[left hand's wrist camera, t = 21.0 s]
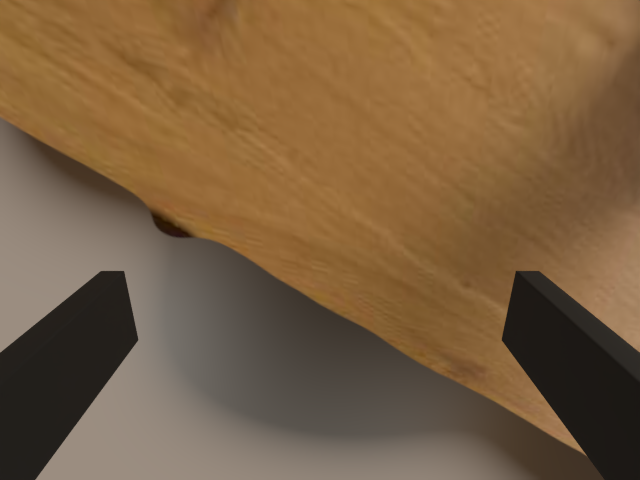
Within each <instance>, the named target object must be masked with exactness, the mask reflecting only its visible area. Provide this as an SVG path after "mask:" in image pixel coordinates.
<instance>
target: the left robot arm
mask: <svg viewBox="0 0 640 480" xmlns="http://www.w3.org/2000/svg"><path fill="white" fill-rule="evenodd" d="M137 341H138V336H137V331H136V326H135V322H134V317H133V312H132V307H131V302H130V298H129V293H128V288H127V283H126V278H125V274H124V271H101V272H99V273H98V274H97V275H96V276H94V277H93V278H92V279H91V280H90V281H88V282H87V283H86V284H85V285H83V286H82V287H81V288H80V289H78V290H77V291H76V292H75V293H73V294H72V295H71V296H70V297H69V298H67V299H66V300H65V301H64V302H62V303H61V304H60V305H59V306H57V307H56V308H55V309H54V310H52V311H51V312H50V313H49V314H48V315H46V316H45V317H44V318H43V319H41V320H40V321H39V322H38V323H36V324H35V325H34V326H33V327H31V328H30V329H29V330H28V331H27V332H25V333H24V334H23V335H22V336H20V337H19V338H18V339H17V340H15V341H14V342H13V343H12V344H10V345H9V346H8V347H7V348H6V349H4V350H3V351H2V352H1V353H0V480H35V479H36V478H37V477H38V475H39V474H40V472H41V471H42V470H43V468H44V467H45V466H46V464H47V463H48V462H49V460H50V459H51V458H52V456H53V455H54V454H55V452H56V451H57V449H58V448H59V447H60V445H61V444H62V443H63V441H64V440H65V439H66V437H67V436H68V435H69V433H70V432H71V430H72V429H73V428H74V426H75V425H76V424H77V422H78V421H79V420H80V418H81V417H82V415H83V414H84V413H85V412H86V410H87V409H88V407H89V406H90V405H91V403H92V402H93V401H94V399H95V398H96V397H97V395H98V394H99V392H100V391H101V390H102V389H103V387H104V386H105V384H106V383H107V382H108V380H109V379H110V378H111V376H112V375H113V374H114V372H115V371H116V370H117V368H118V367H119V365H120V364H121V363H122V361H123V360H124V359H125V357H126V356H127V355H128V353H129V352H130V351H131V349H132V348H133V347H134V345H135V344H136V342H137ZM502 341H503V342H504V344H505V345H506V347H507V348H508V349H509V351H510V352H511V353H512V355H513V356H514V357H515V359H516V360H517V361H518V363H519V364H520V365H521V367H522V368H523V370H524V371H525V372H526V374H527V375H528V376H529V378H530V379H531V380H532V382H533V383H534V384H535V386H536V387H537V389H538V390H539V391H540V393H541V394H542V395H543V397H544V398H545V399H546V401H547V402H548V403H549V405H550V406H551V407H552V409H553V410H554V412H555V413H556V414H557V416H558V417H559V418H560V420H561V421H562V422H563V424H564V425H565V426H566V428H567V429H568V431H569V432H570V433H571V435H572V436H573V437H574V439H575V440H576V441H577V443H578V444H579V445H580V447H581V448H582V449H583V451H584V452H585V454H586V455H587V456H588V458H589V459H590V460H591V462H592V463H593V464H594V466H595V467H596V468H597V470H598V471H599V473H600V474H601V475H602V477H603V478H604V479H605V480H640V353H639V352H638V351H637V350H636V349H634V348H633V347H632V346H631V345H630V344H628V343H627V342H626V341H625V340H623V339H622V338H621V337H620V336H618V335H617V334H616V333H615V332H613V331H612V330H611V329H610V328H609V327H607V326H606V325H605V324H604V323H602V322H601V321H600V320H599V319H597V318H596V317H595V316H594V315H592V314H591V313H590V312H589V311H588V310H586V309H585V308H584V307H583V306H581V305H580V304H579V303H578V302H576V301H575V300H574V299H573V298H571V297H570V296H569V295H568V294H567V293H565V292H564V291H563V290H562V289H560V288H559V287H558V286H557V285H555V284H554V283H553V282H552V281H551V280H549V279H548V278H547V277H546V276H544V275H543V274H542V273H541V272H539V271H516V273H515V278H514V283H513V288H512V293H511V298H510V302H509V307H508V312H507V317H506V322H505V326H504V331H503V336H502Z"/></svg>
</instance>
